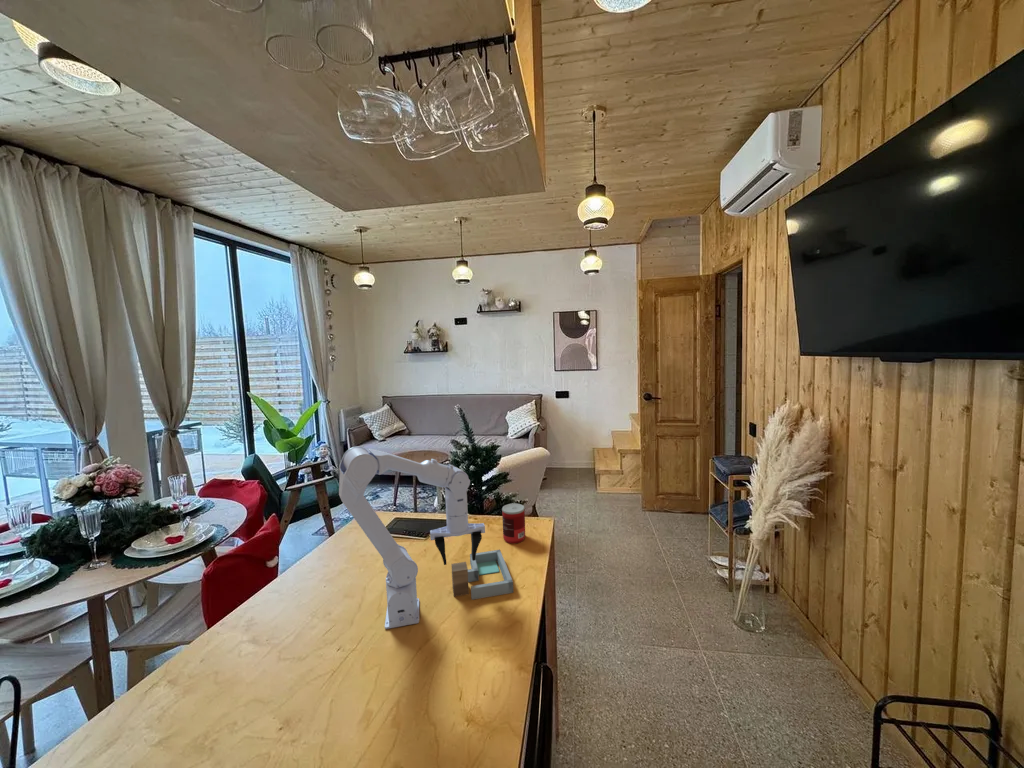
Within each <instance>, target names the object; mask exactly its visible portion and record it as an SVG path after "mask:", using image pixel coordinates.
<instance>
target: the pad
mask: <svg viewBox="0 0 1024 768" xmlns="http://www.w3.org/2000/svg"><path fill="white" fill-rule="evenodd" d="M477 567H478V575H479V576H484V575H490V574H497V573H500V568H499V565H498V562H496V561H490V562H484V563H477Z"/></svg>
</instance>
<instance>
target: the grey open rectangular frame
mask: <svg viewBox="0 0 1024 768" xmlns="http://www.w3.org/2000/svg"><path fill="white" fill-rule="evenodd" d="M504 558H505V557H504V556H503V554H502V551H501V550H500V549H496V550H495V549H494V550H489V551H482V552H476V557H475V560H474V561H473V560H472V554H471V553H470V554H469V562H470V563H469V564H470V567H471V569H468V583H472V582H477V581H480V575H479V573H478V567H477V563H484V562H490V561H496V563H497V566H498V568H499V571H500V573H501V575H502V578H503V580H501V581H496V582H495V581H494V582H488V583H483V584H476V585H471V586H470V594H471V595H470V596H471V600H473V601H474V600H478V599H484V598H490V597H497V596H500V595H502V596H503V595H509V594H512V593H514V581H513V578H512V575H511V574H510V571H509V568H508V566H507V563H506V561H505V559H504Z"/></svg>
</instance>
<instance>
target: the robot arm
mask: <svg viewBox="0 0 1024 768" xmlns="http://www.w3.org/2000/svg"><path fill="white" fill-rule="evenodd" d="M338 465H339V466H338V469H339V480H338V481H339V482H338V483H339V484H338V495H339V498H340V500H341V502H342V503H343V505H344V506H345V508H346V509H347V510H348V512H349V513H350V515H351V516H352V517H353V519H354V520H355V522H356V523H357V524H358V526H359V527H360V529H361V530H362V531H363V533H364V534H365V536H366V537H367V538H368V539H369V541H370V542H371V545H373V547H374V548H375V549H376V551H377V552H378V553H379V555H380V557H381V558H382V562H383V563H382V564H383V566H384V567H385V569H386V570H387V574H386V576H385V586H386V588H385V590H386V602H387V603H386V604H387V605H386V613H385V621H384V629H386V630H388V629H394V628H399V627H405V626H409V625H415V624H419V622H420V598H419V597H418V595H417V594H418V593H417V592H418V591H417V575H418V572H419V567H418V564H417V563H416V562H415V560H413V559H412V556H410V554H409V553H408V550H407V549H406V547H404V546H402V545H399V544H398V543H397V541H396V540H395V539H394V537H393V535H392V534H391V533H390V531H389V530H388V529H387V526H386V525H385V524H384V523H383V521H382V520H381V518H380V517H379V515H378V513H376V511H375V510H374V509H373V507H372V505H371V504H370V503H369V501H368V499H367V498H366V497H365V495H364V494H365V491H366V489H367V487H368V485H369V484H370V482H371V481H372V480H373V478H374V477H375V475H376V474H377V475H379V476H380V475H382V474H384V473H386V472H387V471H393V472H396V473H397V472H399V473H403V474H407V475H411V476H416V477H417V480H418V481H419V482H420V483H423V484H427V485H431V486H434V487H438V488H444V492H445V494H444V495H445V518H446V519H445V520H446V526H442V527H438V528H435V529H431V530H429V532H430V533H429V534H430V541H434V544H435V546H436V548H437V550H438V551H439V553H440V555H441V559H442V562H443V566H446V565H447V556H446V542H445V538H448V537H461V536H464V535H470V538H471V550H470V551H471V553H470V554H472V560H473V561H474V560H475V557H476V553H478V552H477V551H478V548H479V546H480V543H481V541H482V537H483V535H482V534H486V525H485V523H484V522H483V523H482V522H481V523H480V522H479V523H469V516H468V515H469V514H468V513H469V511H468V494H467V492H468V491H467V490H468V488H469V487H470V484H471V480H470V479H469V475H468V474H467V473H466V472H465V471H463V470H462V469H460V468H458V467H457V466H455V465H453V464H450V463H449V464H447V465H446V464H443V463H439V462H438V459H434V458H431V459H425V460H423V461H421V462H418V461H415V460H413V459H408V458H406V457H402V456H399V455H396V454H393V453H389V452H386V451H383V450H378V449H374V448H367V449H366V448H364V447H363V446H357V445H356V446H353V447H350V448H348V449H347V450H346V451H345V452H344V453H343V456H342V458H341V460H340V463H339V464H338Z"/></svg>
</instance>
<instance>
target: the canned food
mask: <svg viewBox="0 0 1024 768" xmlns="http://www.w3.org/2000/svg"><path fill="white" fill-rule="evenodd" d="M501 511H502V512H501V513H502V515H501V516H502V537H503V540H504V541H505V542H506V543H508V544H520V543H521V542H523V541H524V540H525V538H526V516H525V514H526V512H525V505H523V504H520V503H515V502H514V503H508V504H505V505H503V506H502V509H501Z"/></svg>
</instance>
